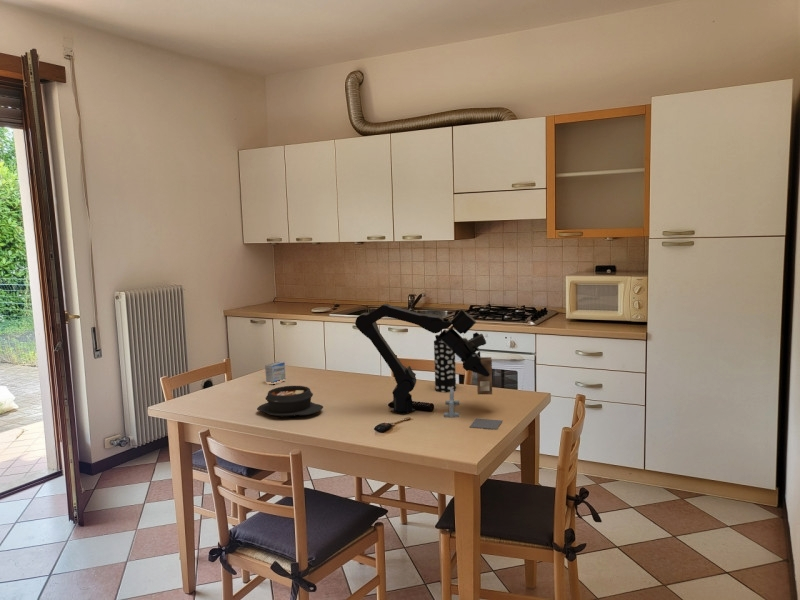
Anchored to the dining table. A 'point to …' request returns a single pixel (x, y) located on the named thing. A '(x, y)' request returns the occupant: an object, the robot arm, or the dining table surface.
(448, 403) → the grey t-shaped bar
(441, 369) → the spotted tube
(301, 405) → the casserole
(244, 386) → the dining table surface
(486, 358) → the walnut block
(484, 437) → the dining table surface
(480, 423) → the mat
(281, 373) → the medicine box
